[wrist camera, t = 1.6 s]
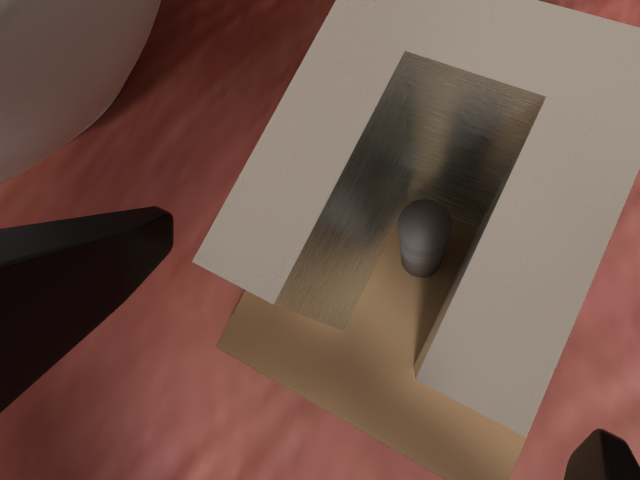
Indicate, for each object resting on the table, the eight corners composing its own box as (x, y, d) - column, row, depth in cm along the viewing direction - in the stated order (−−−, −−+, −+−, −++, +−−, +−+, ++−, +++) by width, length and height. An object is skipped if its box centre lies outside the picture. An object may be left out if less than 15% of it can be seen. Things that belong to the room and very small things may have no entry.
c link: (463, 393, 17) (526, 437, 8) (300, 308, 19) (191, 262, 10) (547, 204, 18) (693, 42, 9) (385, 142, 20) (362, -48, 11)
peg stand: (491, 499, 18) (531, 571, 12) (226, 347, 21) (152, 343, 15) (629, 173, 19) (724, 92, 13) (366, 80, 23) (350, -17, 17)
